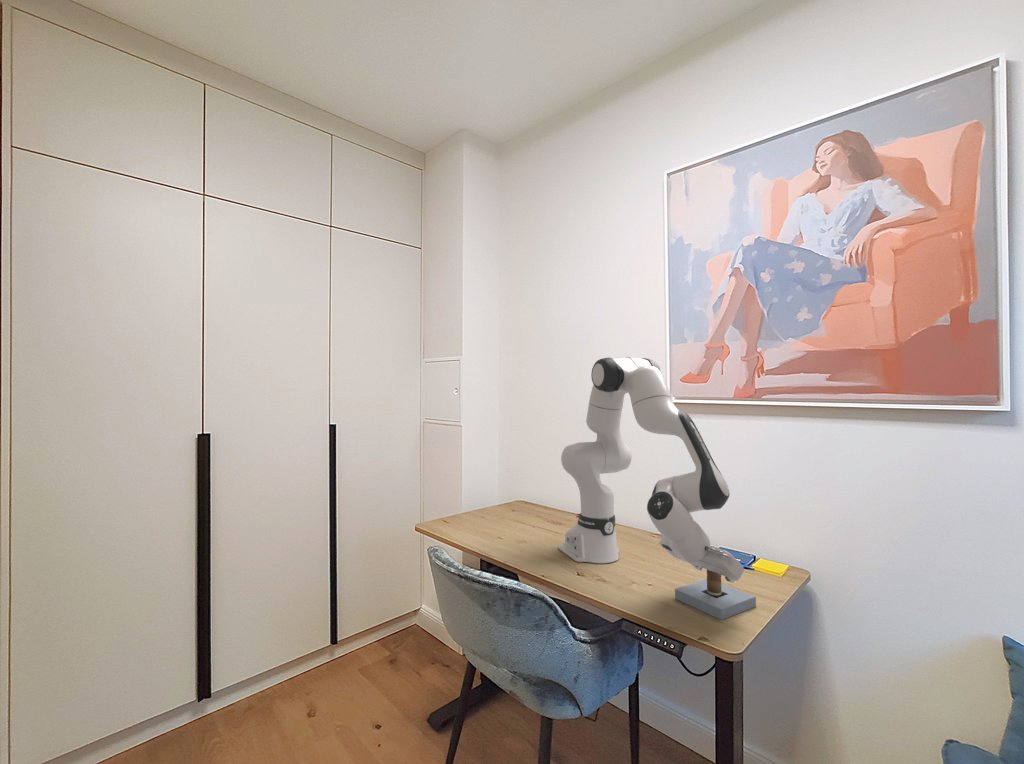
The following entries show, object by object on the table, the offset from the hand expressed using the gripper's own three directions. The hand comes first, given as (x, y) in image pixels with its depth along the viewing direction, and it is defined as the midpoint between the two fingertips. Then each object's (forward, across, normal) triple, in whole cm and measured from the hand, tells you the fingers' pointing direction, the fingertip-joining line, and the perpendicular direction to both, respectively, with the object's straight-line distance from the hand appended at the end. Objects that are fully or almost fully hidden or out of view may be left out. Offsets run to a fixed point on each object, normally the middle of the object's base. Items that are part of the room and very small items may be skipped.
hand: (715, 573), depth 122 cm
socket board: (+5, 0, +6) cm, 7 cm away
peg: (+5, 0, +6) cm, 7 cm away
